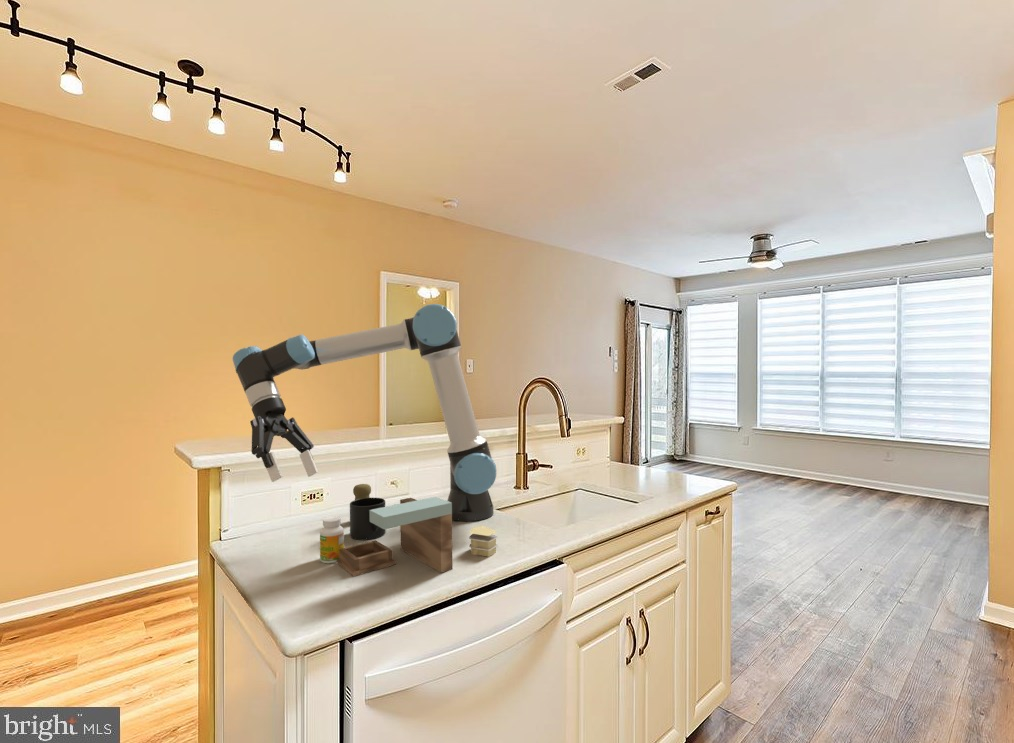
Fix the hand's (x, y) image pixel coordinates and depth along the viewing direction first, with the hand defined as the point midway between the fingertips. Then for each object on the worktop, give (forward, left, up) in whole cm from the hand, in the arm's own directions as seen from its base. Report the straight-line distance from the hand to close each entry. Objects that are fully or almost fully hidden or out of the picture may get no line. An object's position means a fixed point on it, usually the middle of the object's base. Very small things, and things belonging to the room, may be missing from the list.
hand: (296, 476), depth 122 cm
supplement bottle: (-5, +11, -19) cm, 22 cm away
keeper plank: (-15, +31, -6) cm, 35 cm away
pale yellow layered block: (-35, +31, -19) cm, 50 cm away
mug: (-19, +1, -19) cm, 27 cm away
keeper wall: (-22, +25, -19) cm, 38 cm away
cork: (-23, -13, -19) cm, 32 cm away
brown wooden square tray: (-10, +19, -19) cm, 28 cm away
